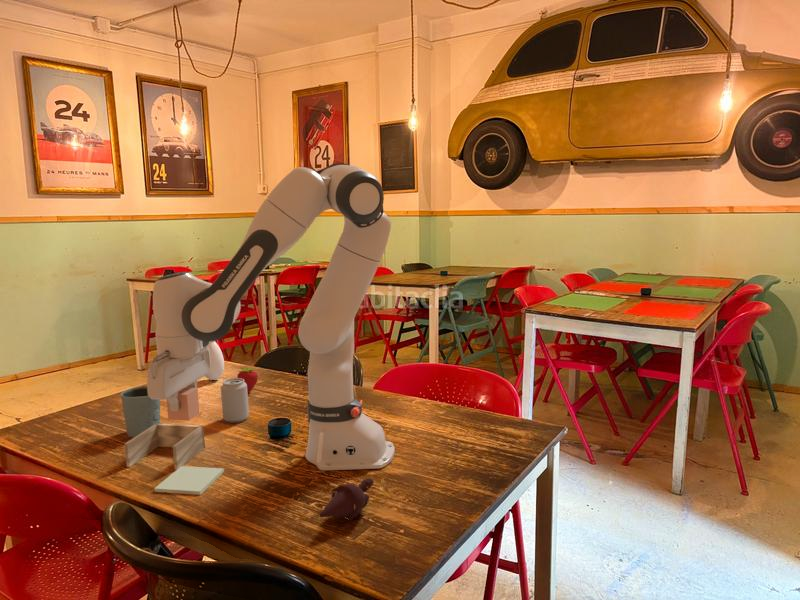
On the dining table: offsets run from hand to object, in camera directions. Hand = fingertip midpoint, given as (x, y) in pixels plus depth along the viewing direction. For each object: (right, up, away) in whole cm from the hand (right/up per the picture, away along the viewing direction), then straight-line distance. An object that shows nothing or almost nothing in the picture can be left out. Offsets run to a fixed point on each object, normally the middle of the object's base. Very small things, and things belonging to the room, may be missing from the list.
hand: (183, 405), depth 126 cm
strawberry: (-3, -8, +66) cm, 66 cm away
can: (0, -12, +41) cm, 43 cm away
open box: (-10, -16, +17) cm, 25 cm away
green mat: (0, -18, +3) cm, 18 cm away
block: (0, -3, 0) cm, 3 cm away
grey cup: (-24, -14, +33) cm, 43 cm away
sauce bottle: (-20, -6, +80) cm, 83 cm away
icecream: (+38, -20, -13) cm, 45 cm away
